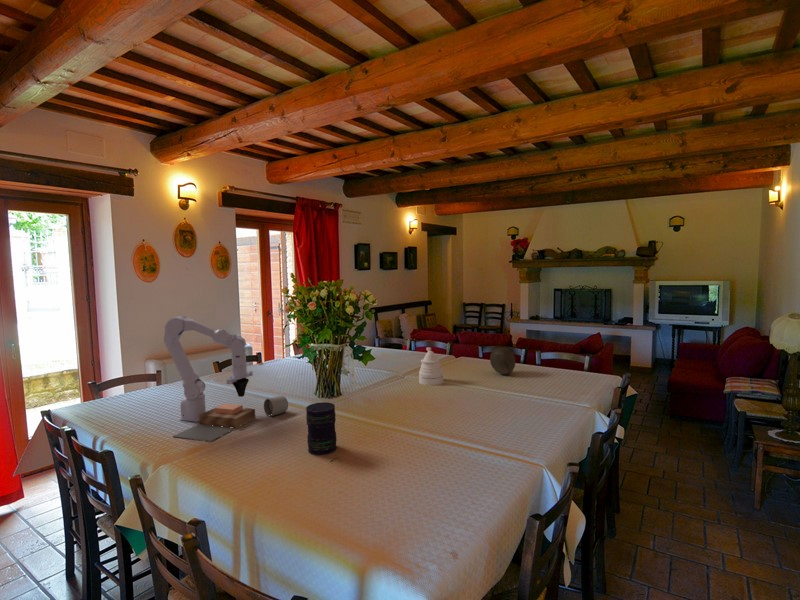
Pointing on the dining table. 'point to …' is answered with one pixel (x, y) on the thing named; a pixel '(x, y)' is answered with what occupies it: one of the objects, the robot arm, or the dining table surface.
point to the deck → (227, 418)
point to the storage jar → (321, 428)
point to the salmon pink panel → (228, 408)
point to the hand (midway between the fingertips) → (241, 396)
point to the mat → (204, 432)
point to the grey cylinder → (275, 405)
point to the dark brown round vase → (502, 360)
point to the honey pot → (430, 370)
